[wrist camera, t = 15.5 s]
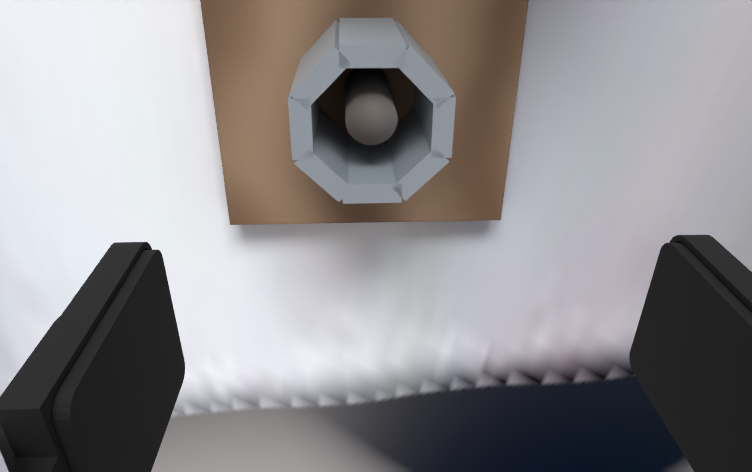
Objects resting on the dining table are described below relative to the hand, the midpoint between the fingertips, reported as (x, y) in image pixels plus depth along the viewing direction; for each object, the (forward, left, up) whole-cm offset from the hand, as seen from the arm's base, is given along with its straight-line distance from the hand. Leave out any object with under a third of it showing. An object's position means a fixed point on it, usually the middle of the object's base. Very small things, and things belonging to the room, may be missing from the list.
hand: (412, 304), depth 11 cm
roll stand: (0, 0, -19) cm, 19 cm away
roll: (0, 0, -17) cm, 17 cm away
